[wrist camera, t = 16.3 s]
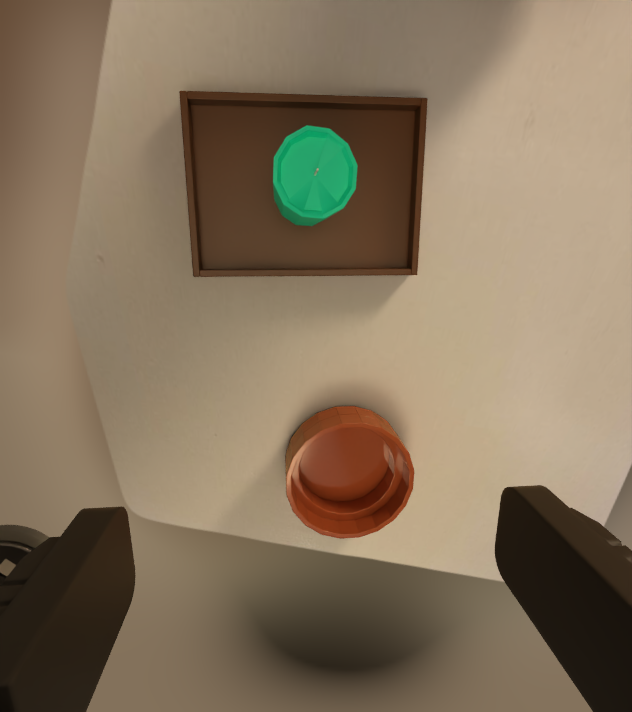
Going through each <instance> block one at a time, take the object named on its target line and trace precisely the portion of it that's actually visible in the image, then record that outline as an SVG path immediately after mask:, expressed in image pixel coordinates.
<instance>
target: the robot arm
mask: <svg viewBox="0 0 632 712" xmlns="http://www.w3.org/2000/svg"><path fill="white" fill-rule="evenodd" d="M495 558H496V563H497V566H498V569H499V572H500V574H501V576H502V578H503V580H504V581H505V583H506V584H507V586H508V587H509V589H510V590H511V592H512V593H513V595H514V596H515V597H516V599H517V600H518V602H519V603H520V605H521V606H522V608H523V609H524V611H525V612H526V614H527V615H528V616H529V618H530V620H531V621H532V622H533V624H534V625H535V627H536V628H537V630H538V631H539V633H540V634H541V636H542V637H543V639H544V640H545V642H546V643H547V644H548V646H549V647H550V649H551V650H552V652H553V653H554V655H555V656H556V658H557V659H558V661H559V662H560V664H561V665H562V666H563V668H564V669H565V671H566V672H567V674H568V675H569V677H570V678H571V680H572V681H573V683H574V684H575V686H576V687H577V688H578V690H579V691H580V693H581V694H582V696H583V697H584V699H585V700H586V702H587V703H588V705H589V706H590V708H591V709H592V711H593V712H632V551H631V550H630V549H629V548H628V547H627V546H622V544H621V541H620V540H619V539H617V538H616V537H615V536H614V535H612V534H611V533H610V532H609V531H608V530H607V529H606V528H604V527H603V526H602V525H601V524H600V523H598V522H596V521H595V520H593V519H591V518H589V517H587V516H586V515H584V514H582V513H580V512H578V511H576V510H575V509H573V508H569V507H568V506H567V505H566V504H564V503H563V502H562V501H561V500H560V499H559V498H558V497H557V496H555V495H554V494H553V493H552V492H551V491H550V490H549V489H547V488H546V487H544V486H541V485H537V486H518V487H507V488H505V489H504V490H503V492H502V495H501V502H500V510H499V518H498V526H497V534H496V542H495ZM134 586H135V565H134V559H133V551H132V543H131V536H130V528H129V521H128V514H127V511H126V509H125V508H124V507H106V508H88V509H82V510H81V511H80V512H79V513H78V514H77V516H76V517H75V518H74V520H73V521H72V522H71V523H70V525H69V526H68V528H67V529H66V530H65V531H64V533H63V534H62V536H61V537H50V538H49V539H47V540H46V541H45V542H43V543H42V544H41V545H39V546H38V547H36V548H35V549H34V548H33V547H31V546H29V545H26V544H24V543H20V542H16V541H7V540H2V541H0V712H86V710H87V708H88V706H89V703H90V701H91V698H92V696H93V693H94V691H95V689H96V686H97V684H98V681H99V679H100V676H101V674H102V672H103V669H104V667H105V665H106V662H107V660H108V657H109V655H110V652H111V650H112V647H113V645H114V643H115V640H116V638H117V636H118V633H119V631H120V628H121V626H122V623H123V621H124V619H125V616H126V614H127V612H128V609H129V607H130V604H131V601H132V597H133V592H134Z"/></svg>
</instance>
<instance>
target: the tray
mask: <svg viewBox="0 0 632 712" xmlns="http://www.w3.org/2000/svg"><path fill="white" fill-rule="evenodd" d="M180 105H181V118H182V131H183V145H184V158H185V171H186V184H187V198H188V211H189V224H190V238H191V251H192V264H193V276H194V277H200V276H201V277H214V276H344V275H417V269H418V252H419V235H420V218H421V201H422V183H423V166H424V149H425V132H426V115H427V98H401V97H368V96H334V95H300V94H267V93H233V92H200V91H180ZM306 125H308V126H315V127H322V128H329V129H331V130H332V131H333V132H334V133H336V134H337V135H338V136H339V137H341V138H342V139H343V140H344V141H345V142H347V143H348V145H349V147H350V149H351V152H352V154H353V156H354V158H355V160H356V163H357V165H358V167H357V180H356V189H355V191H354V193H353V194H352V196H351V197H350V199H349V201H348V202H347V204H346V205H345V207H344V208H343V209H342V210H340V211H338V212H337V213H335V214H333V215H332V216H330V217H328V218H327V219H325V220H323V221H321V222H319V223H317V224H315V225H313V226H303V225H295V224H294V223H292V222H291V221H289V220H288V219H286V218H285V217H283V216H282V215H281V212H280V210H279V208H278V206H277V204H276V202H275V200H274V190H273V166H274V156H275V155H276V153H277V151H278V150H279V148H280V146H281V145H282V143H283V141H284V140H285V138H286V137H287V136H289V135H290V134H292V133H294V132H296V131H298V130H299V129H301V128H303V127H305V126H306Z"/></svg>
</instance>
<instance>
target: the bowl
mask: <svg viewBox="0 0 632 712" xmlns="http://www.w3.org/2000/svg"><path fill="white" fill-rule="evenodd" d="M285 461H286V494H287V497H288V500H289V502H290V505H291V507H292V510H293V512H294V513H295V514H296V515H297V516H298V518H299V519H300V520H301V521H302V522H303V523H304V524H305V525H306V526H308V527H309V528H311V529H313V530H315V531H316V532H318V533H320V534H322V535H326V536H331V537H336V538H355V537H362V536H365V535H368V534H370V533H373V532H376V531H379V530H380V529H381V528H383V527H384V526H386V525H387V524H389V523H390V522H392V521H393V520H394V519H395V518H396V517H397V516H398V515H399V513H400V512H401V511H402V510H403V509H404V507H405V506H406V504H407V502H408V499H409V497H410V494H411V492H412V490H413V481H414V468H413V465H412V461H411V458H410V454H409V452H408V451H407V449H406V448H405V446H404V444H403V443H402V441H401V440H400V438H399V437H398V435H397V434H396V432H395V431H394V430H393V428H392V427H391V426H390V424H389V423H388V422H387V421H386V420H385V419H383V418H382V417H381V416H379V415H378V414H376V413H375V412H373V411H371V410H367V409H363V408H360V407H356V406H355V407H354V406H343V407H333V408H330V409H327V410H324V411H321V412H318V413H316V414H315V415H314V416H312V417H311V418H309V419H308V420H307V421H305V422H304V423H302V424H301V426H300V427H299V428H298V430H297V431H296V432H295V434H294V435H293V436H292V438H291V440H290V443H289V446H288V449H287V452H286V456H285Z"/></svg>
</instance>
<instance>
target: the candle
mask: <svg viewBox="0 0 632 712" xmlns="http://www.w3.org/2000/svg"><path fill="white" fill-rule="evenodd" d="M357 167H358V165H357V163H356V160H355V158H354V156H353V154H352V152H351V149H350V147H349V145H348V143H347V142H345V141H344V140H343V139H342V138H341V137H339V136H338V135H337V134H336V133H334V132H333V131H332V130H331V129H329V128H322V127H315V126H308V125H306V126H305V127H303V128H301V129H299V130H298V131H296V132H294V133H292V134H290V135H289V136H287V137H286V138H285V140H284V141H283V143H282V145H281V146H280V148H279V150H278V151H277V153H276V155H275V156H274V166H273V190H274V200H275V202H276V204H277V206H278V208H279V210H280V212H281V215H282V216H283V217H285V218H286V219H288V220H289V221H291V222H292V223H294V224H295V225H303V226H313V225H315V224H317V223H319V222H321V221H323V220H325V219H327V218H328V217H330V216H332V215H333V214H335V213H337V212H338V211H340V210H342V209H343V208H344V207H345V205H346V204H347V202H348V201H349V199H350V197H351V196H352V194H353V193H354V191H355V189H356V180H357Z"/></svg>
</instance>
